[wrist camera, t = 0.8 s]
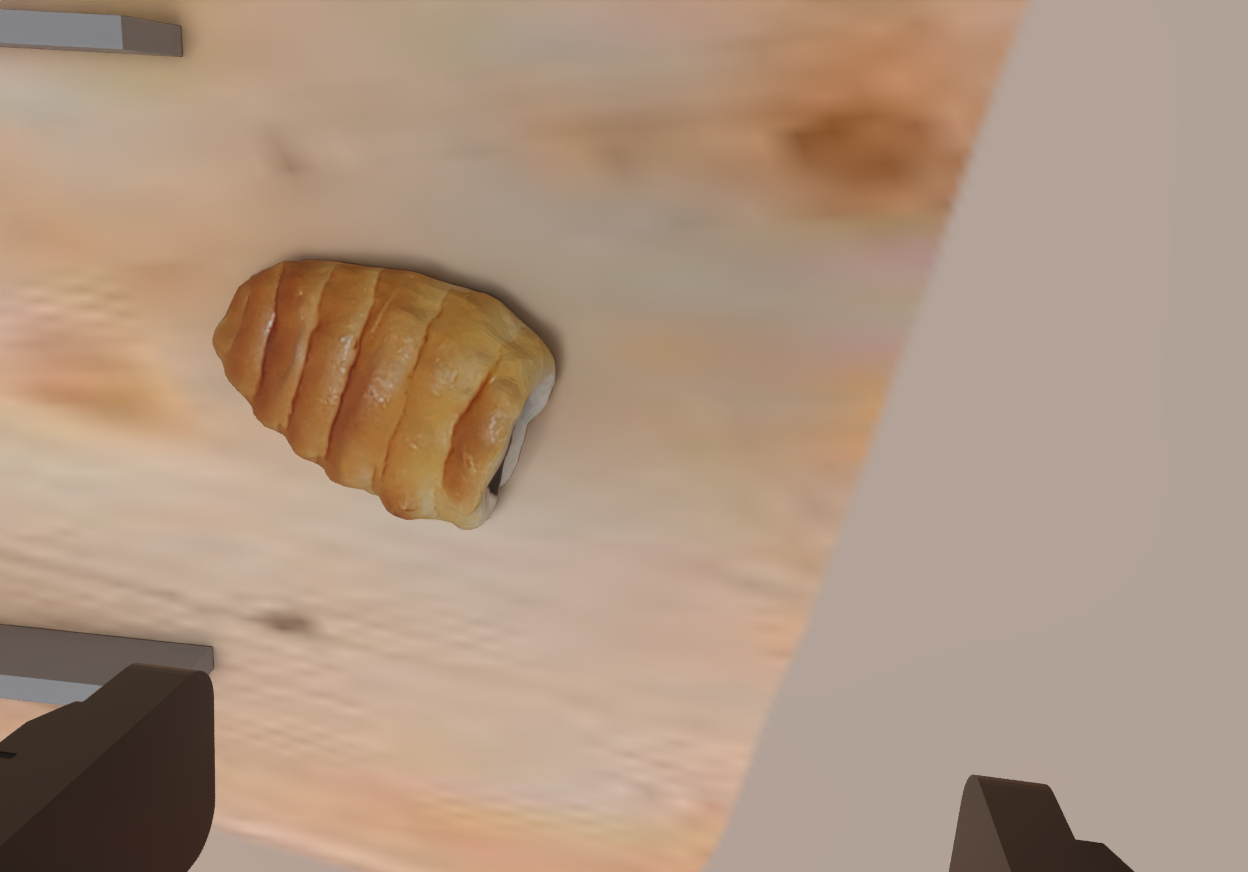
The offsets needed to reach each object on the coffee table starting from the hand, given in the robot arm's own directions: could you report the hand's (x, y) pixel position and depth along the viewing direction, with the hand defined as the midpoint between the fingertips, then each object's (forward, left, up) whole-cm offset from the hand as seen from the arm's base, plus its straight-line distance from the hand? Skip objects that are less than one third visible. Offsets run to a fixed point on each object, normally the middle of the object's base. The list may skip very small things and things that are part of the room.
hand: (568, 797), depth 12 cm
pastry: (+1, -8, -21) cm, 23 cm away
